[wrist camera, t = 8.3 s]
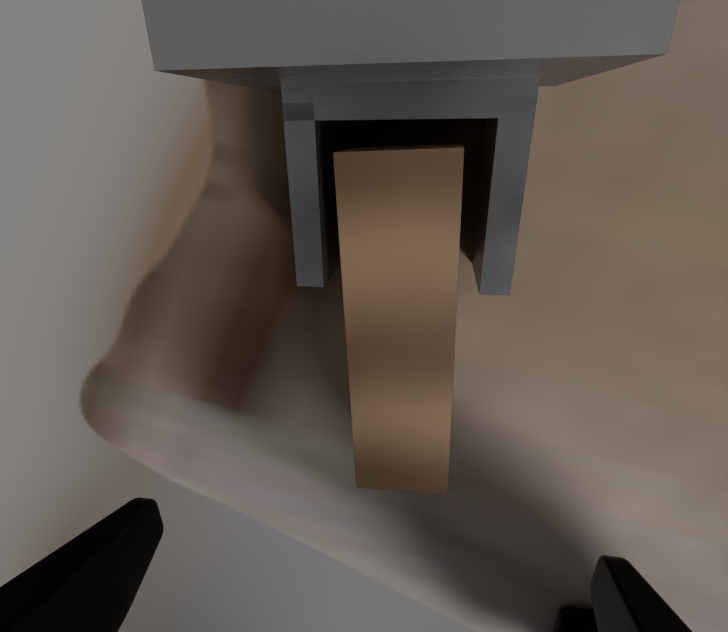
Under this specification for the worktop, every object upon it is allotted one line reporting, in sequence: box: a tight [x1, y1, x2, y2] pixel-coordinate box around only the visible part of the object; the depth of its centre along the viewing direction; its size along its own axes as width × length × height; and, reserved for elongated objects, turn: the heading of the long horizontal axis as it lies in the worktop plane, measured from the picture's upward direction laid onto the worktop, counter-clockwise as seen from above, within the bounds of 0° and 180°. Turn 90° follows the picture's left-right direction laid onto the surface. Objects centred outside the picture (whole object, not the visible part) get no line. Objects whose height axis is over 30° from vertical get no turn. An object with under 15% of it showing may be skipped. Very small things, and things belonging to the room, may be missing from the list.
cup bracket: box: [142, 0, 680, 295], centre depth 13 cm, size 8×10×8 cm
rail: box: [333, 142, 464, 495], centre depth 18 cm, size 14×4×4 cm, turn 3°
